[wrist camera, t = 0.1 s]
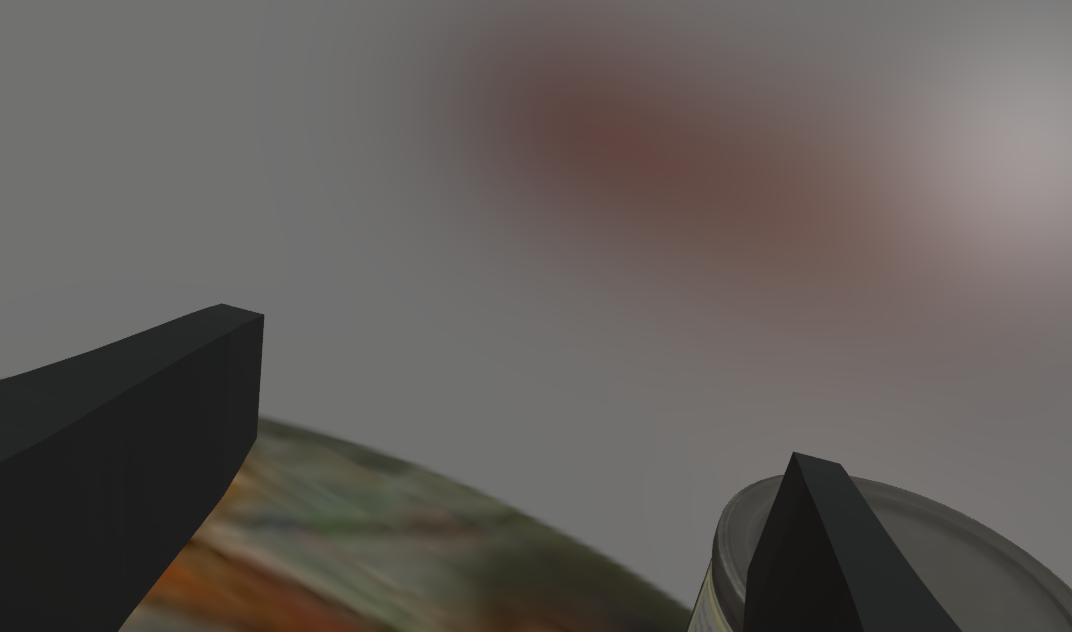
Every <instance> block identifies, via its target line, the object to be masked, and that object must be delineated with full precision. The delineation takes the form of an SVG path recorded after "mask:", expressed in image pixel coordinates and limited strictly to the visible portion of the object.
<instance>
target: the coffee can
mask: <svg viewBox="0 0 1072 632" xmlns="http://www.w3.org/2000/svg"><path fill="white" fill-rule="evenodd" d="M783 477H784V475H779V476H774V477H771V478H767V479H764V480H760V481H758V482H756V483H754V484H751V485H749V486H748V487H746V488H744V489H743V490H741V491H740V492H738V493H737V494H736V495H735V496H734V497H733V498H732V499H731V500H730V501H729V502H728V504H727V505H726V507H725V508H724V510H723V512H722V515H721V517H720V520H719V522H718V525H717V529H716V533H715V536H714V540H713V549H712V558H711V561H710V564H709V567H708V569H707V572H706V576H705V578H704V581H703V583H702V586H701V589H700V592H699V595H698V598H697V600H696V603H695V606H694V609H693V612H692V615H691V618H690V620H689V623H688V626H687V630H686V632H743V624H744V607H745V595H746V583H747V571H748V568H749V565H750V562H751V560H752V557H753V555H754V552H755V549H756V547H757V544H758V542H759V539H760V537H761V534H762V531H763V529H764V526H765V524H766V521H767V518H768V516H769V513H770V511H771V508H772V505H773V503H774V500H775V498H776V495H777V492H778V490H779V487H780V485H781V482H782V480H783ZM849 477H850V478H851V480H852V481H853V483H854V484H855V485H856V487H857V488H858V490H859V491H860V493H861V494H862V496H863V497H864V499H865V500H866V502H867V503H868V505H869V506H870V508H871V509H872V511H873V512H874V514H875V515H876V517H877V518H878V520H879V521H880V523H881V524H882V526H883V527H884V529H885V530H886V531H887V533H888V534H889V536H890V537H891V539H892V540H893V542H894V543H895V544H896V546H897V547H898V549H899V550H900V551H901V553H902V554H903V556H904V557H905V558H906V560H907V561H908V563H909V564H910V565H911V567H912V568H913V569H914V571H915V572H916V574H917V575H918V576H919V578H920V579H921V580H922V582H923V583H924V584H925V585H926V587H927V588H928V589H929V591H930V592H931V593H932V595H933V596H934V597H935V599H936V600H937V601H938V602H939V603H940V605H941V606H942V607H943V608H944V610H945V611H946V612H947V613H948V615H949V616H950V617H951V618H952V619H953V621H954V622H955V623H956V624H957V626H958V627H959V628H960V629H961V630H962V632H1072V589H1071V588H1070V587H1069V586H1068V585H1067V584H1065V583H1064V582H1063V581H1062V580H1061V579H1060V578H1059V577H1057V576H1056V575H1055V574H1053V572H1052V571H1051V570H1050V569H1048V568H1047V567H1045V566H1044V565H1043V564H1041V563H1040V562H1039V561H1038V560H1036V559H1035V558H1034V557H1032V556H1031V555H1030V554H1029V553H1027V552H1026V551H1024V550H1023V549H1021V548H1020V547H1018V546H1017V545H1015V544H1014V543H1012V542H1011V541H1009V540H1008V539H1006V538H1005V537H1003V536H1001V535H1000V534H998V533H997V532H995V531H994V530H992V529H990V528H988V527H986V526H985V525H983V524H981V523H979V522H978V521H976V520H974V519H972V518H970V517H968V516H966V515H965V514H963V513H960V512H958V511H956V510H954V509H952V508H950V507H948V506H945V505H943V504H941V503H938V502H936V501H933V500H931V499H929V498H926V497H923V496H921V495H918V494H915V493H913V492H910V491H907V490H903V489H900V488H897V487H894V486H891V485H887V484H884V483H880V482H876V481H871V480H867V479H862V478H857V477H852V476H849Z"/></svg>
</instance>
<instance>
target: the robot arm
mask: <svg viewBox="0 0 1072 632" xmlns="http://www.w3.org/2000/svg"><path fill="white" fill-rule="evenodd" d="M263 328H264V314H259V313H256V312H252V311H248V310H244V309H240V308H237V307H232V306H229V305H225V304H219V305H216V306H212V307H208V308H205V309H202V310H199V311H196V312H194V313H191V314H188V315H185V316H183V317H180V318H177V319H175V320H172V321H169V322H167V323H164V324H162V325H159V326H157V327H154V328H151V329H149V330H146V331H143V332H141V333H138V334H135V335H132V336H130V337H127V338H124V339H122V340H119V341H117V342H114V343H111V344H109V345H106V346H103V347H100V348H98V349H95V350H92V351H89V352H86V353H83V354H80V355H77V356H74V357H71V358H68V359H65V360H62V361H59V362H56V363H53V364H50V365H47V366H44V367H41V368H38V369H35V370H32V371H29V372H26V373H23V374H19V375H16V376H13V377H9V378H6V379H2V380H0V632H118V630H119V629H120V628H121V626H122V625H123V623H124V622H125V621H126V619H127V618H128V617H129V615H130V614H131V613H132V612H133V610H134V609H135V608H136V607H137V605H138V604H139V603H140V602H141V600H142V599H143V598H144V597H145V595H146V594H147V593H148V591H149V590H150V589H151V588H152V586H153V585H154V584H155V583H156V581H157V580H158V579H159V578H160V576H161V575H162V574H163V573H164V571H165V570H166V569H167V568H168V566H169V565H170V564H171V563H172V561H173V560H174V559H175V557H176V556H177V555H178V554H179V552H180V551H181V550H182V549H183V547H184V546H185V545H186V544H187V542H188V541H189V540H190V539H191V537H192V536H193V535H194V533H195V532H196V531H197V530H198V528H199V527H200V526H201V524H202V523H203V522H204V521H205V519H206V518H207V517H208V515H209V514H210V513H211V512H212V510H213V509H214V508H215V506H216V505H217V504H218V502H219V501H220V500H221V498H222V497H223V496H224V494H225V492H226V491H227V489H228V487H229V486H230V484H231V482H232V481H233V479H234V477H235V476H236V474H237V472H238V471H239V469H240V467H241V465H242V463H243V462H244V460H245V458H246V456H247V454H248V453H249V451H250V449H251V447H252V445H253V444H254V442H255V440H256V438H257V424H258V408H259V392H260V376H261V359H262V343H263ZM743 632H962V630H961V629H960V628H959V627H958V626H957V624H956V623H955V622H954V621H953V619H952V618H951V617H950V616H949V615H948V613H947V612H946V611H945V610H944V608H943V607H942V606H941V605H940V603H939V602H938V601H937V600H936V599H935V597H934V596H933V595H932V593H931V592H930V591H929V589H928V588H927V587H926V585H925V584H924V583H923V582H922V580H921V579H920V578H919V576H918V575H917V574H916V572H915V571H914V569H913V568H912V567H911V565H910V564H909V563H908V561H907V560H906V558H905V557H904V556H903V554H902V553H901V551H900V550H899V549H898V547H897V546H896V544H895V543H894V542H893V540H892V539H891V537H890V536H889V534H888V533H887V531H886V530H885V529H884V527H883V526H882V524H881V523H880V521H879V520H878V518H877V517H876V515H875V514H874V512H873V511H872V509H871V508H870V506H869V505H868V503H867V502H866V500H865V499H864V497H863V496H862V494H861V493H860V491H859V490H858V488H857V487H856V485H855V484H854V483H853V481H852V480H851V478H850V477H849V475H848V474H847V473H846V471H845V470H844V468H843V467H842V466H841V464H839V463H835V462H831V461H827V460H823V459H820V458H816V457H812V456H808V455H804V454H800V453H796V452H793V454H792V456H791V459H790V462H789V464H788V467H787V470H786V472H785V474H784V477H783V480H782V482H781V485H780V487H779V490H778V492H777V495H776V498H775V500H774V503H773V505H772V508H771V511H770V513H769V516H768V518H767V521H766V524H765V526H764V529H763V531H762V534H761V537H760V539H759V542H758V544H757V547H756V549H755V552H754V555H753V557H752V560H751V562H750V565H749V568H748V571H747V583H746V595H745V607H744V624H743Z"/></svg>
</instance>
